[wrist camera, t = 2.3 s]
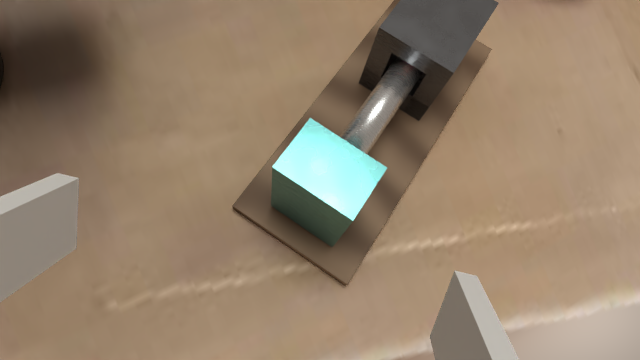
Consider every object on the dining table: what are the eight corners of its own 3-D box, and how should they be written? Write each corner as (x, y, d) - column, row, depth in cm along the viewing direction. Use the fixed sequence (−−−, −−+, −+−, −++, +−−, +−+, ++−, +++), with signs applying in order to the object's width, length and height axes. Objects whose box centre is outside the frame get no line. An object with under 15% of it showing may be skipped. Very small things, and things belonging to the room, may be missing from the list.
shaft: (332, 247, 39) (352, 220, 30) (270, 205, 40) (272, 166, 30) (433, 92, 46) (475, 31, 37) (380, 59, 47) (408, -9, 38)
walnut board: (345, 285, 39) (347, 284, 38) (233, 208, 40) (232, 205, 39) (487, 54, 51) (491, 49, 50) (396, -1, 52) (399, -7, 51)
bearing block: (418, 121, 45) (453, 73, 37) (358, 83, 46) (379, 27, 37) (458, 60, 48) (498, 3, 40) (401, 25, 49) (429, -38, 41)
